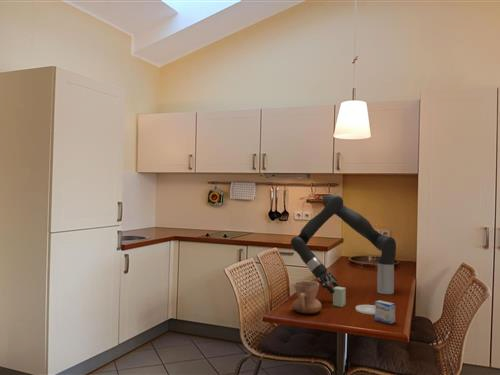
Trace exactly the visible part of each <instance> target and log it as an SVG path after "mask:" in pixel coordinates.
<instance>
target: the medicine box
mask: <svg viewBox="0 0 500 375" xmlns="http://www.w3.org/2000/svg"><path fill="white" fill-rule="evenodd" d="M374 303H375V304H374V306H375V315H374V321H378V322H382V323H386V324H390V325H391V324H394V323H395V322H396V303H393V302H391V301H384V300H380V299H379V300H377V301H376V300H375V301H374Z"/></svg>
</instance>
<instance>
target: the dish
mask: <svg viewBox="0 0 500 375" xmlns="http://www.w3.org/2000/svg"><path fill="white" fill-rule="evenodd" d="M355 311H356V312H357V313H360V314H363V315H364V314H365V315H370V316H373V315H374V316H375V304H373V305H371V304H358V305H356V306H355Z"/></svg>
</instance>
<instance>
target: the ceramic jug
mask: <svg viewBox="0 0 500 375" xmlns="http://www.w3.org/2000/svg"><path fill="white" fill-rule="evenodd" d="M293 286H294V289H295V292H296V295H297V297H298V298H296V299H294V300H293V302H292V304H291V307H292V309H293V310H294V311H295V312H297V313H300V314H303V315H305V314H306V315H312V314H313V315H314V314H317V313H318V312H320V311H321V309H322V307H323V305H322V302H321V301H319V299H317V298H316V297H317V294H318V292H319V287H320V283H319V282H318V281H313V280H311V281H310V280H299V281H296V282H294V283H293Z"/></svg>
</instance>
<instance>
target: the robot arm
mask: <svg viewBox="0 0 500 375" xmlns="http://www.w3.org/2000/svg"><path fill="white" fill-rule="evenodd" d="M322 205H323V207H324V208H323V209H322V210H321V211H320V212H319V213H318V214H316V215H315V216H314V217H313V218H311V219H310V220H309V221H308V222H307V223H306V224H305V225H304V226H303V227H302V229H301V231H300V232H299V234H298V235H297V236H294V237H293V238H291V240H290V246H291V248H292V250H293V251H295V253H297V254H298V256H299V257H300V259H301V260H302V262H303V263H304V264H305V265H306V267H307V268H308V270H309V271H310V272H311V274H312V275H313V276H314V277H315V278H316V281H317V282H318V283H319V285H320V286H321V287H322V288H323V289H325V290H326V289H327V291H328V292H329V294H331V295H333V293H334V292H335V291H334V290H333V288H335V287H336V286H337V287H340V285H339V284H338V283H337V282H338V280H337V278H336V277H335V276H334V275H333V274H332V273H331V272H328V268H327V267H326V266H325V265H324V264H323V262H322V261H321V260H320V259H319V258H318V257H317V256H316V255H315V254H314V252H313V251H312V250H311V249H310V248H309V246H307V244H308V243H309V241H311V240H310V239H312V238H313V236H314V235H315V234H316V233H317V232H318V230H319V229H321V227H322V226H323V225H324V224H326V222H327V221H328V220H329V219H330V218H332V217H333V216H334V215H335V216H338V218H340V219H341V221H343V222H344V223H345V224H346V225H348V226H349V227H350V228H351V229H353V231H355V232H356V233H357V234H359V235H361V236H362V237H364V238H365V239H367V241H369V242H370V243H371V244H372V245H373V246H374V247H375V248H376V249H377V250H378V251H380V252H381V256H380V257H378V258H377V281H376V282H377V284H376V285H377V287H376V288H377V290H376V292H377V293H378V294H380V295H381V294H382V295H394V294H395V292H394V290H395V285H394V284H395V260H396V257H397V256H396V255H397V254H396V253H397V243H396V240H395V239H394V238H393V237H391V236H387V235H383V234H381V233H380V232H379V231H377V230H376V229H374V227H373V225H372V224H371V223H370V221H369V220H368V219H367V218H365V217H364V216H363V215H361V213H358V212H357V211H355V210H352V209H351V208H349V207H348V206H346V205H345V204H344V200H343V197H342V196H340V195H338V194H332V193H331V194H326V195H325V196H323V199H322ZM327 272H328V273H327ZM331 285H332V286H333V287H332V286H331Z"/></svg>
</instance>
